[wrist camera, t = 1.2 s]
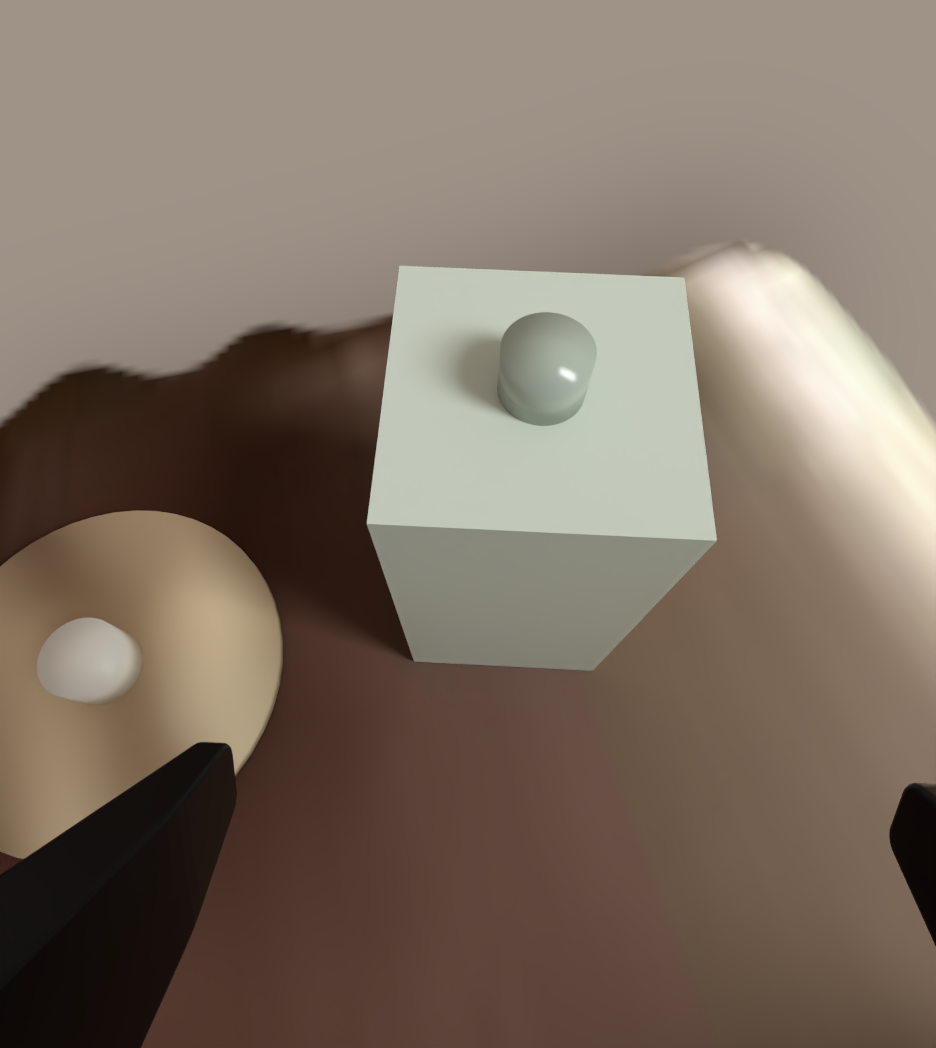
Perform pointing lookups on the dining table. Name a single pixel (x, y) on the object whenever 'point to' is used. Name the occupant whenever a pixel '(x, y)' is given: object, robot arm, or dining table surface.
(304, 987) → the dining table surface
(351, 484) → the dining table surface
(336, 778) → the dining table surface
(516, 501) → the cover
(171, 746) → the cork mat
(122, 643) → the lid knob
